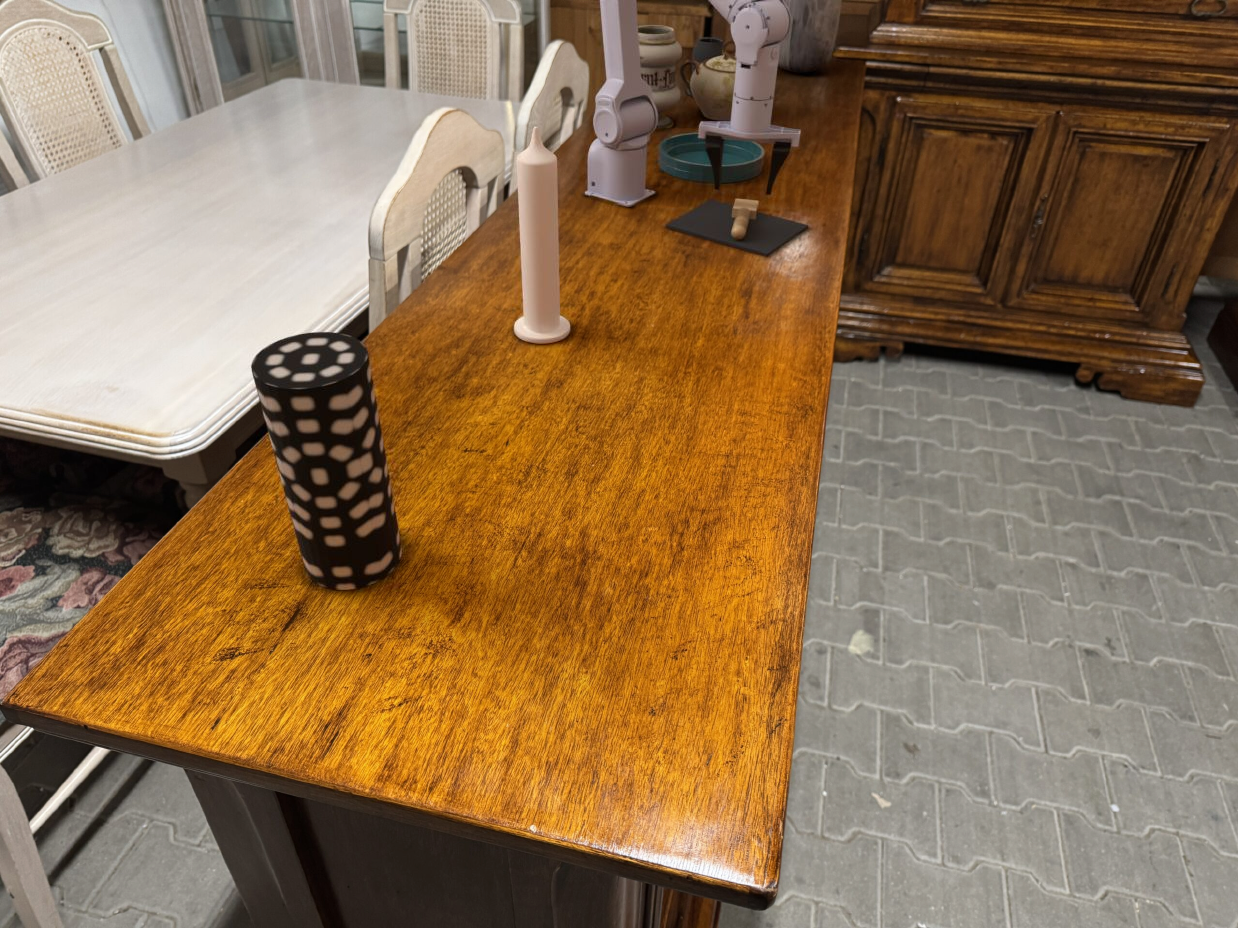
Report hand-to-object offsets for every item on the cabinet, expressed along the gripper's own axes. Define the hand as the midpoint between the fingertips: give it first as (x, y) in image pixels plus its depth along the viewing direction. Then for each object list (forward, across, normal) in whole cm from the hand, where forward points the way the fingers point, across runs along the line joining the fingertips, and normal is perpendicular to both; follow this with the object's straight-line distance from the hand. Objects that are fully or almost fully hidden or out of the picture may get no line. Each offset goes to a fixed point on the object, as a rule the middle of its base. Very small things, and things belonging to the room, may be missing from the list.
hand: (742, 190), depth 132 cm
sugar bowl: (+8, +10, -65) cm, 66 cm away
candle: (+7, +21, +37) cm, 43 cm away
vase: (+8, -4, -110) cm, 111 cm away
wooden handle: (+7, 0, -4) cm, 8 cm away
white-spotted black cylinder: (+7, +26, +81) cm, 85 cm away
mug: (+8, +16, -84) cm, 86 cm away
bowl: (+7, +8, -31) cm, 33 cm away
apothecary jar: (+8, +24, -55) cm, 60 cm away
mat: (+7, 0, -3) cm, 8 cm away
